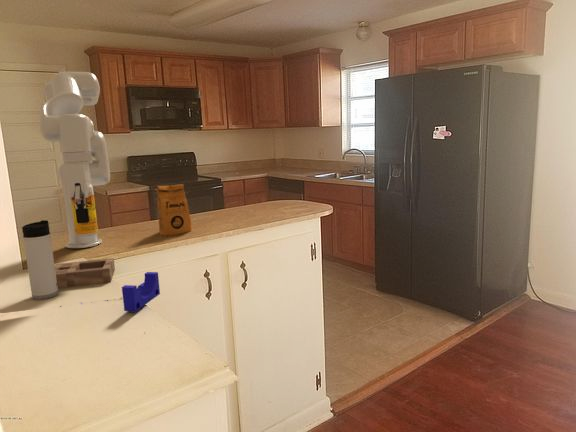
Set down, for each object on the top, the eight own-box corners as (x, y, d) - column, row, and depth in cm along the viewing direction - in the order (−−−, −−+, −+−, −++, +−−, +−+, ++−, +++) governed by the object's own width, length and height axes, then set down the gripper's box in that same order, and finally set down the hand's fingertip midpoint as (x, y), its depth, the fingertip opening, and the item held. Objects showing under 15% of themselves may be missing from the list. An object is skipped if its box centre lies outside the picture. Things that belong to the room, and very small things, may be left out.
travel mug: (64, 292, 124) (55, 220, 120) (44, 300, 118) (33, 225, 114) (47, 290, 126) (37, 219, 122) (26, 298, 120) (15, 224, 116)
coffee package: (193, 239, 182) (189, 184, 178) (162, 242, 177) (157, 187, 173) (189, 234, 191) (185, 182, 187) (159, 238, 186) (154, 184, 182)
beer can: (84, 237, 128) (77, 185, 126) (71, 236, 132) (64, 184, 129) (102, 233, 133) (96, 182, 131) (90, 232, 137) (84, 182, 134)
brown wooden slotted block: (57, 276, 138) (55, 264, 137) (115, 270, 142) (113, 258, 142) (47, 289, 127) (46, 275, 126) (110, 282, 131) (109, 268, 130)
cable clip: (144, 293, 121) (142, 271, 120) (159, 293, 120) (157, 272, 119) (118, 310, 109) (116, 287, 108) (135, 311, 108) (133, 287, 107)
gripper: (69, 158, 136) (76, 217, 139) (56, 160, 120) (65, 227, 123) (96, 157, 138) (102, 215, 141) (86, 158, 121) (94, 224, 124)
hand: (85, 220), depth 132 cm, fingers closed on beer can, 6 cm apart
